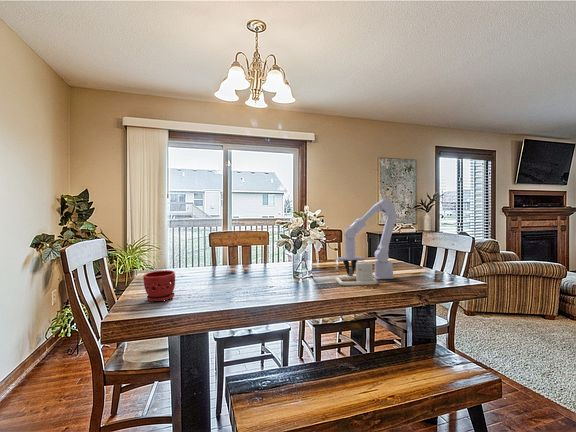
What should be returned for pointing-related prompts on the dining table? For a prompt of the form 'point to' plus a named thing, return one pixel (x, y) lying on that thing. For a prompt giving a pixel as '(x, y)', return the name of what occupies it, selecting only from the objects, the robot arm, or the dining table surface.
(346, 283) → the pull frame
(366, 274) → the small box
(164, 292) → the plant pot
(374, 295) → the dining table surface
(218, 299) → the dining table surface
